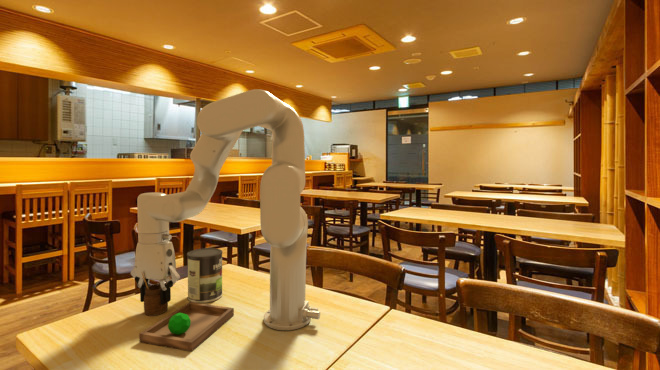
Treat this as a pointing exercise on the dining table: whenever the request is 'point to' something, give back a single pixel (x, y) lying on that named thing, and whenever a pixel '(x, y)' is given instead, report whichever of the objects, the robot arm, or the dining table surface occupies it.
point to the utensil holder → (153, 300)
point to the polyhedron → (179, 323)
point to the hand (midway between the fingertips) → (155, 300)
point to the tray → (200, 329)
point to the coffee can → (204, 275)
